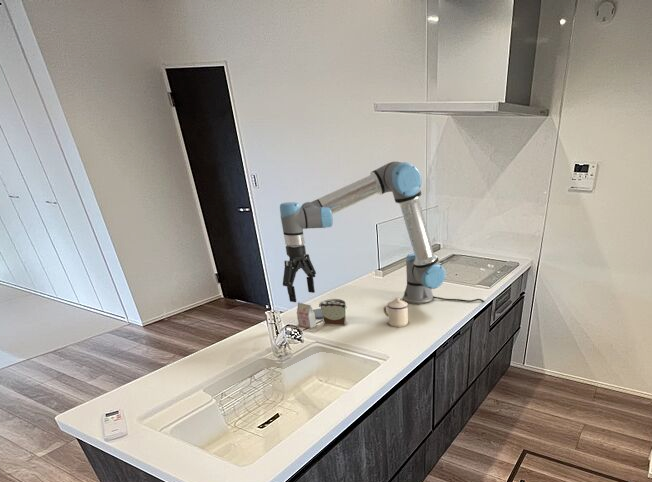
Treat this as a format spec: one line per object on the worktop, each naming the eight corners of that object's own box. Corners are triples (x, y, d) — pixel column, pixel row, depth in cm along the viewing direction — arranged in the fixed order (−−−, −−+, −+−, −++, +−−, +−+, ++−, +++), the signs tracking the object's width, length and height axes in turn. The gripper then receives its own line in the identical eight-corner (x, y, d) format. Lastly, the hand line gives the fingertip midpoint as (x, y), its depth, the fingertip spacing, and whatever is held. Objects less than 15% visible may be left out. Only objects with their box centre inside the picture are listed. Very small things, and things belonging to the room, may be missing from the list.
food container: (351, 320, 196) (349, 299, 190) (348, 325, 190) (346, 303, 185) (325, 319, 196) (322, 297, 191) (321, 324, 191) (318, 302, 186)
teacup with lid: (412, 321, 195) (411, 297, 189) (401, 328, 188) (400, 302, 182) (389, 317, 200) (388, 292, 194) (378, 323, 193) (377, 298, 187)
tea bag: (304, 322, 192) (301, 301, 187) (316, 325, 190) (313, 303, 184) (298, 325, 190) (295, 303, 184) (310, 328, 187) (307, 306, 182)
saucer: (337, 312, 204) (336, 310, 204) (324, 320, 196) (324, 317, 195) (317, 309, 207) (316, 307, 207) (304, 316, 199) (303, 314, 198)
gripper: (304, 238, 183) (311, 287, 194) (267, 250, 162) (276, 304, 174) (320, 240, 181) (326, 289, 192) (283, 252, 160) (292, 307, 172)
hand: (302, 296), depth 183 cm, fingers open, 13 cm apart
